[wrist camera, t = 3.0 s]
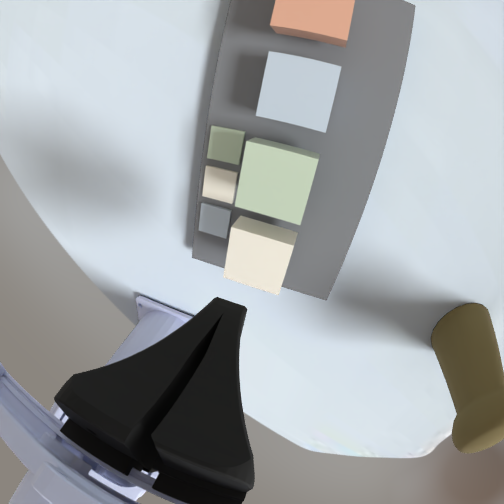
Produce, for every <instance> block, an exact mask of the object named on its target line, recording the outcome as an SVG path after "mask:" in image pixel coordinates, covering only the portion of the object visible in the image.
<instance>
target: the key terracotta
mask: <svg viewBox="0 0 504 504" xmlns="http://www.w3.org/2000/svg"><path fill="white" fill-rule="evenodd" d="M354 3H355V0H276V1H275V5H274V9H273V14H272V18H271V23H270V26H271V27H272V28H273V30H274V31H275V32H276V33H277V34H283V35H290V36H295V37H301V38H306V39H311V40H316V41H320V42H324V43H329V44H333V45H337V46H340V47H344V48H346V44H347V39H348V34H349V29H350V24H351V19H352V14H353V8H354Z"/></svg>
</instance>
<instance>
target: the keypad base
mask: <svg viewBox="0 0 504 504" xmlns="http://www.w3.org/2000/svg"><path fill="white" fill-rule="evenodd" d="M275 1H276V0H231V2H230V6H229V10H228V14H227V19H226V23H225V28H224V32H223V37H222V41H221V46H220V51H219V56H218V61H217V67H216V72H215V77H214V83H213V89H212V94H211V100H210V107H209V113H208V119H207V126H206V133H205V140H204V147H203V154H202V162H201V170H200V179H199V188H198V197H197V206H196V217H195V228H194V239H193V252H192V258H195V259H198V260H201V261H204V262H207V263H210V264H213V265H216V266H219V267H222V268H225V263H226V257H227V250H228V244H229V238H230V232H231V227H232V225H233V224H234V223H235V222H236V221H237V219H238V218H239V217H240V216H244V217H247V218H251V219H254V220H258V221H261V222H265V223H268V224H271V225H275V226H278V227H282V228H285V229H288V230H291V231H295V232H298V234H297V238H296V241H295V244H294V248H293V251H292V254H291V258H290V261H289V264H288V267H287V270H286V274H285V277H284V280H283V283H282V286H281V287H284V288H288V289H291V290H294V291H297V292H301V293H304V294H307V295H310V296H314V297H317V298H320V299H324V300H327V298H328V296H329V294H330V291H331V289H332V287H333V285H334V283H335V280H336V278H337V276H338V273H339V271H340V269H341V266H342V264H343V262H344V259H345V257H346V254H347V252H348V250H349V247H350V245H351V242H352V240H353V237H354V235H355V232H356V229H357V227H358V224H359V222H360V219H361V216H362V214H363V211H364V208H365V205H366V203H367V200H368V197H369V194H370V191H371V188H372V185H373V183H374V180H375V177H376V174H377V170H378V167H379V164H380V161H381V158H382V155H383V151H384V148H385V145H386V141H387V138H388V135H389V131H390V128H391V124H392V120H393V117H394V113H395V109H396V105H397V101H398V97H399V93H400V89H401V84H402V80H403V75H404V71H405V66H406V61H407V56H408V50H409V45H410V39H411V33H412V27H413V20H414V13H415V5H413V4H411V3H408V2H406V1H403V0H355V3H354V8H353V14H352V19H351V24H350V29H349V34H348V39H347V44H346V48H344V47H340V46H337V45H333V44H329V43H324V42H320V41H316V40H311V39H306V38H301V37H295V36H290V35H283V34H277V33H276V32H275V31H274V30H273V28H272V27H271V26H270V23H271V18H272V14H273V9H274V5H275ZM269 51H271V52H278V53H284V54H289V55H295V56H300V57H304V58H309V59H313V60H318V61H322V62H326V63H330V64H334V65H337V66H341V71H340V76H339V80H338V84H337V89H336V93H335V97H334V101H333V105H332V109H331V113H330V118H329V122H328V126H327V129H326V133H324V132H321V131H317V130H313V129H310V128H306V127H302V126H298V125H294V124H290V123H286V122H282V121H278V120H273V119H269V118H264V117H259V116H256V112H257V107H258V102H259V97H260V92H261V87H262V82H263V77H264V72H265V67H266V63H267V58H268V53H269ZM255 137H257V138H261V139H265V140H270V141H274V142H278V143H282V144H286V145H290V146H294V147H297V148H301V149H305V150H308V151H312V152H315V153H319V154H320V156H319V160H318V164H317V168H316V171H315V175H314V179H313V182H312V186H311V190H310V193H309V197H308V200H307V204H306V207H305V211H304V214H303V218H302V221H301V224H300V225H297V224H294V223H291V222H287V221H284V220H281V219H277V218H274V217H271V216H267V215H264V214H260V213H257V212H253V211H250V210H246V209H243V208H239V207H235V202H236V196H237V190H238V185H239V179H240V173H241V168H242V162H243V157H244V151H245V146H246V141H248V140H250V139H252V138H255Z"/></svg>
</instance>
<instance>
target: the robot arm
mask: <svg viewBox="0 0 504 504" xmlns="http://www.w3.org/2000/svg"><path fill="white" fill-rule="evenodd" d="M136 304H137V311H138V318H139V323H138V324H137V325H136V327H135V328H134V329H133V330H132V332H131V333H130V334H129V335H128V337H127V338H126V339H125V341H124V342H123V343H122V345H121V346H120V347H119V348H118V349H117V351H116V352H115V353H114V355H113V356H112V357H111V359H110V360H109V361H108V363H107V364H106V365H105V366H103V367H100V368H98V369H93V370H90V371H86V372H82V373H78V374H74V375H73V376H72V377H71V378H70V379H69V380H68V381H67V382H66V383H65V384H64V385H63V387H62V388H61V389H60V391H59V392H58V393H57V395H56V396H55V397H54V399H55V403H54V405H53V406H52V408H51V410H50V412H49V411H48V410H47V409H46V408H44V407H43V406H42V405H41V404H40V403H39V402H37V401H36V400H35V399H34V398H33V397H32V396H31V395H30V394H29V393H28V392H26V391H25V390H24V389H23V388H22V387H21V386H20V385H19V384H18V383H17V382H16V381H15V380H14V379H13V378H12V377H11V376H10V375H9V373H7V371H6V370H5V368H4V367H3V365H2V364H1V363H0V437H1V438H2V439H3V441H4V442H5V443H6V444H7V445H8V447H9V448H10V449H11V450H12V452H14V454H15V455H16V456H17V457H18V459H19V460H20V461H21V462H22V463H23V464H24V465H25V466H26V467H27V469H28V471H27V473H26V475H25V476H24V478H23V479H22V481H21V483H20V484H19V486H18V488H17V489H16V491H15V493H14V495H13V496H12V498H11V500H10V501H9V503H8V504H140V503H138V502H136V500H137V499H138V497H141V496H142V495H143V494H144V493H145V492H146V491H148V492H150V493H152V494H154V495H156V496H158V497H161V498H163V499H165V500H168V501H170V502H172V503H175V504H242V502H243V501H244V499H245V496H246V493H247V492H248V491H249V490H251V489H252V488H253V486H254V479H255V478H254V463H253V454H252V450H251V447H250V443H249V439H248V435H247V430H246V425H245V420H244V414H243V408H242V401H241V392H240V380H239V348H240V337H241V333H242V329H243V325H244V321H245V317H246V312H247V308H246V307H245V306H242V305H239V304H236V303H233V302H230V301H227V300H224V299H221V298H219V297H216V298H214V299H213V300H212V301H211V302H210V303H209V304H208V305H207V306H206V307H204V308H203V309H202V310H201V311H200V312H199V313H197V314H196V315H195V316H194V317H192V316H189V315H187V314H184V313H182V312H179V311H177V310H174V309H172V308H169V307H167V306H164V305H162V304H159V303H157V302H155V301H152V300H150V299H148V298H145V297H143V296H138V297H137V298H136Z"/></svg>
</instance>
